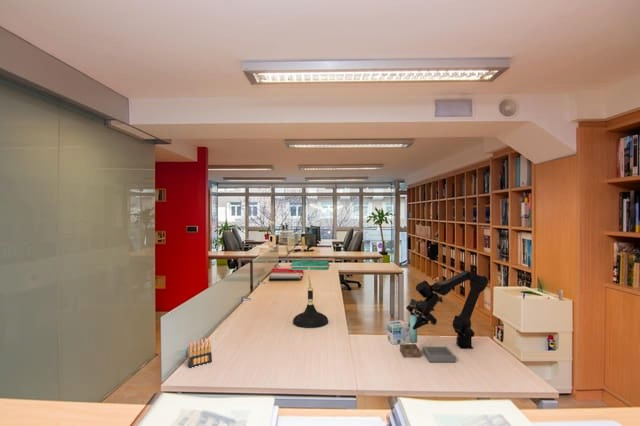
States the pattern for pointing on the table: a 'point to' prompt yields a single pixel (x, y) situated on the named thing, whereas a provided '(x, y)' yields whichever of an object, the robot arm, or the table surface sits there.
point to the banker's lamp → (310, 296)
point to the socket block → (409, 350)
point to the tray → (438, 355)
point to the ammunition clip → (199, 353)
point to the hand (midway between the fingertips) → (410, 327)
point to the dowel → (412, 332)
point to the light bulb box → (398, 332)
